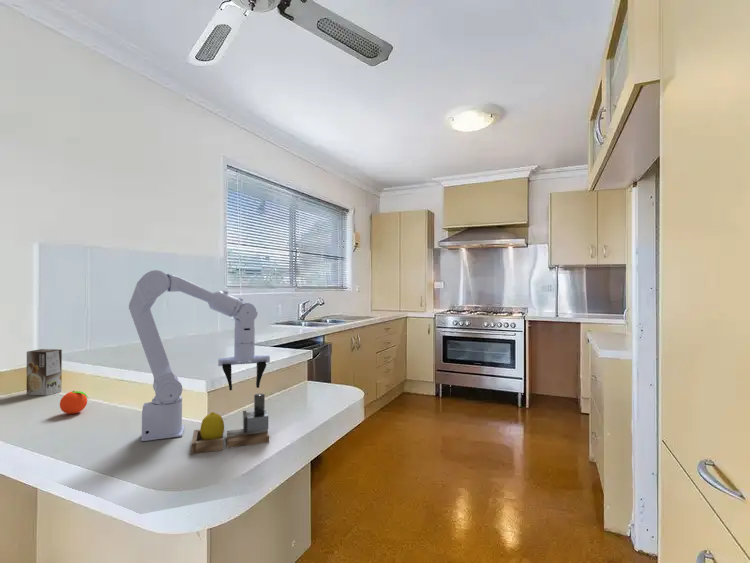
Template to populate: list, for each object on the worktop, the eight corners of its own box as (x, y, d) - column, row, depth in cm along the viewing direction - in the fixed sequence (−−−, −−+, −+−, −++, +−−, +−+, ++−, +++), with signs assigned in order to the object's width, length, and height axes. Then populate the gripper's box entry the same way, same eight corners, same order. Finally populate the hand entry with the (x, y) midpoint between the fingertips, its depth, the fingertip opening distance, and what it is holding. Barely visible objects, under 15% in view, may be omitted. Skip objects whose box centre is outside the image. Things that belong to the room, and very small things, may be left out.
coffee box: (62, 391, 149) (63, 349, 149) (46, 396, 143) (46, 351, 143) (42, 390, 151) (42, 348, 151) (24, 394, 144) (25, 351, 145)
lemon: (215, 449, 96) (215, 416, 96) (195, 447, 97) (195, 415, 97) (228, 440, 101) (228, 409, 101) (209, 439, 102) (209, 408, 102)
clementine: (95, 409, 127) (96, 387, 127) (80, 417, 120) (80, 393, 120) (70, 410, 126) (70, 388, 126) (53, 417, 119) (53, 393, 119)
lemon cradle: (191, 454, 93) (191, 443, 93) (193, 439, 102) (193, 430, 102) (223, 449, 95) (223, 439, 95) (222, 436, 104) (222, 426, 104)
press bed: (227, 447, 96) (227, 437, 96) (226, 436, 104) (226, 427, 104) (269, 442, 100) (269, 432, 100) (265, 431, 107) (265, 422, 108)
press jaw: (243, 432, 99) (244, 399, 99) (242, 425, 104) (242, 393, 104) (268, 429, 101) (268, 396, 101) (266, 422, 106) (266, 391, 106)
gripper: (218, 345, 111) (218, 394, 111) (271, 343, 116) (270, 389, 116) (218, 342, 117) (218, 388, 117) (268, 340, 123) (268, 383, 122)
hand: (244, 388), depth 117 cm, fingers open, 7 cm apart
